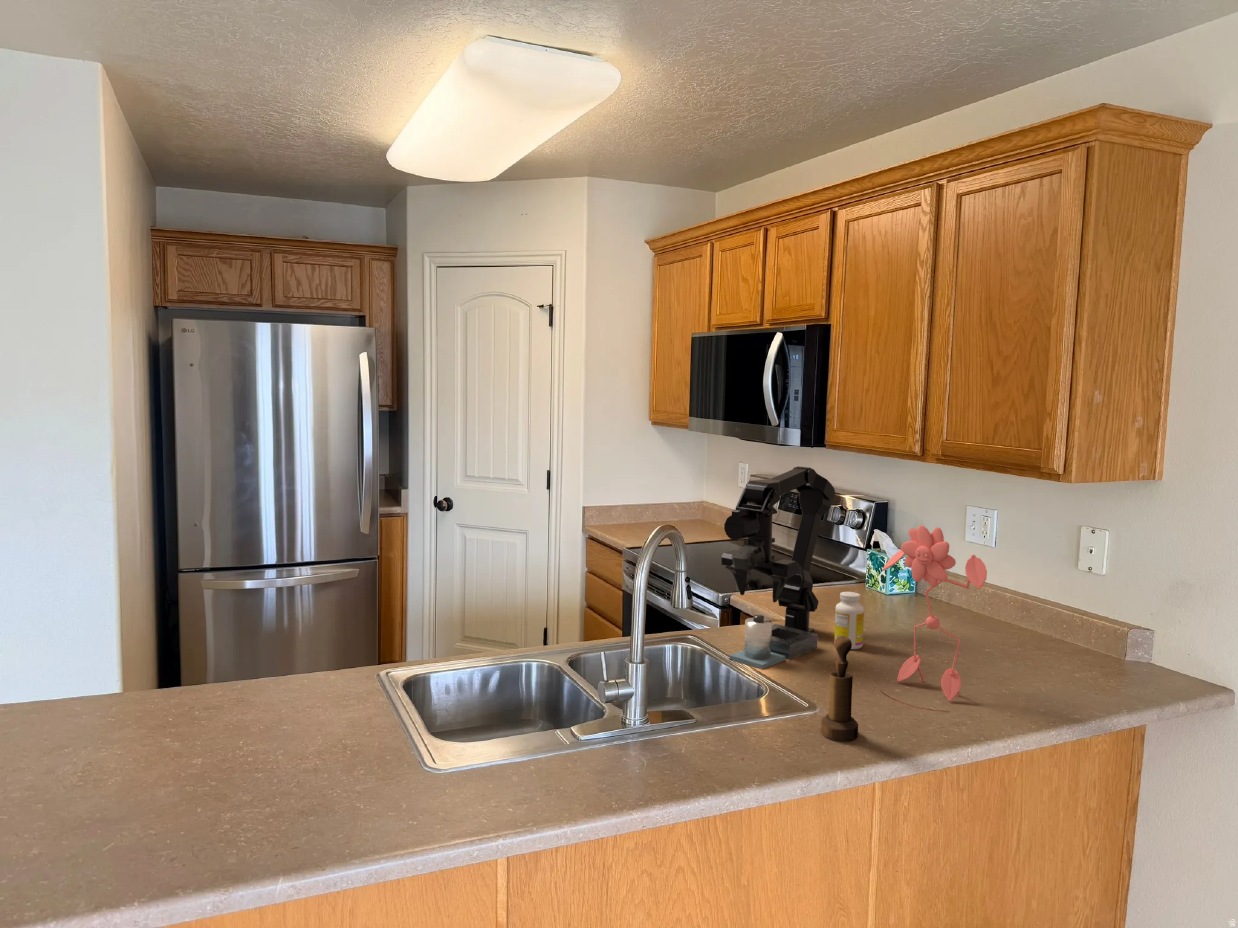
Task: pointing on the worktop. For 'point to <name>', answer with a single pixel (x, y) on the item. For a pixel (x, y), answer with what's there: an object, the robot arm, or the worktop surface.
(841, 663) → the mortar and pestle
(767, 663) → the mat
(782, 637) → the frame
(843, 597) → the supplement bottle
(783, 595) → the robot arm
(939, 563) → the figurine
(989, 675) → the worktop surface
